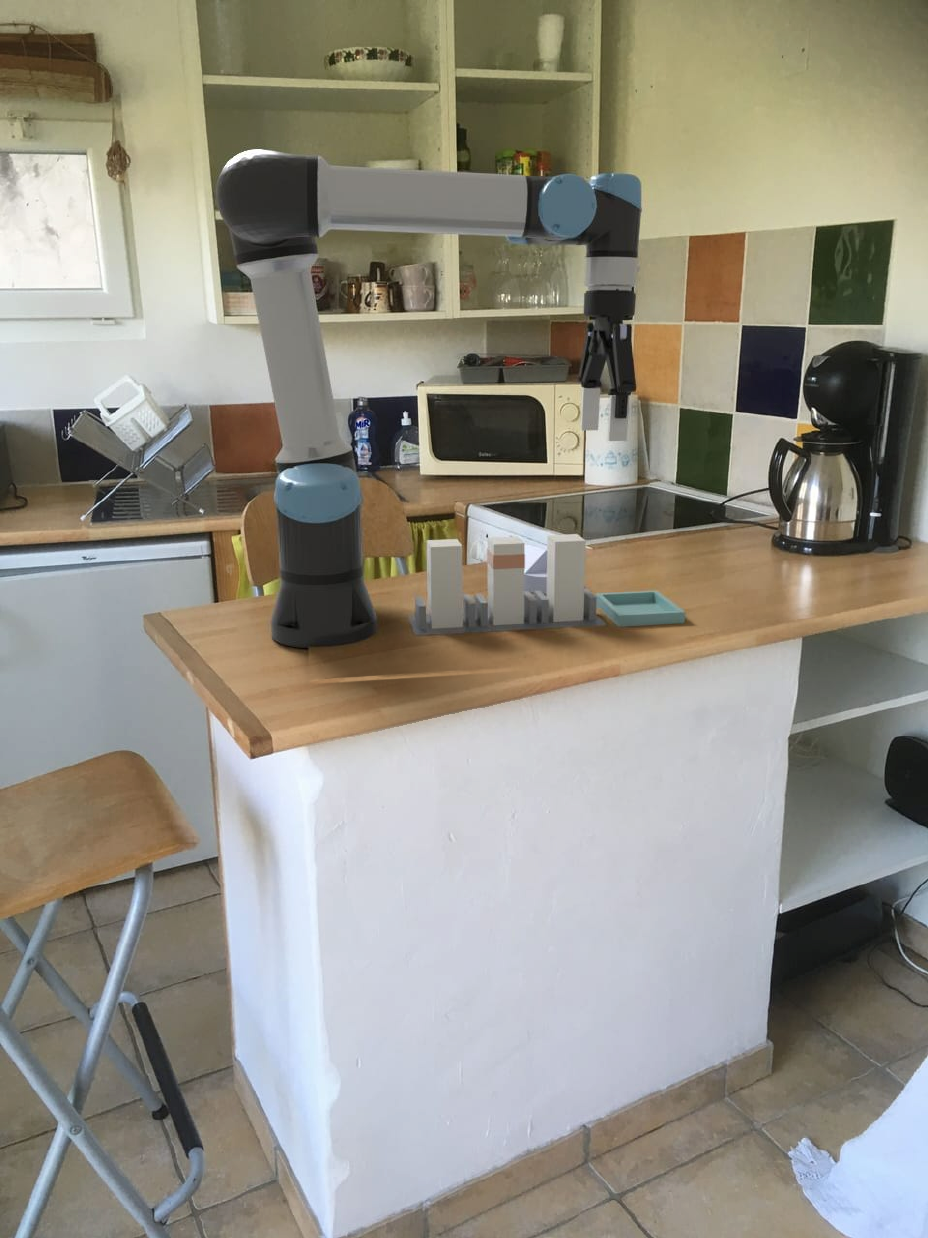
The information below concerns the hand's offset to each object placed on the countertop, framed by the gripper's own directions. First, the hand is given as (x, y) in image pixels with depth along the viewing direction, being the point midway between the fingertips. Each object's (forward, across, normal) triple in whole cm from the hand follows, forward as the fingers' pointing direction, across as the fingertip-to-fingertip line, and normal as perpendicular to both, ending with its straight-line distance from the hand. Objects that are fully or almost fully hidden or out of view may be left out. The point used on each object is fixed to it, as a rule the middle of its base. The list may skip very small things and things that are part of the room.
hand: (602, 435), depth 155 cm
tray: (+26, -10, -4) cm, 28 cm away
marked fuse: (+26, -10, +17) cm, 32 cm away
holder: (+26, -10, +17) cm, 33 cm away
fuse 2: (+26, -10, +8) cm, 29 cm away
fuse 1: (+26, -10, +26) cm, 38 cm away
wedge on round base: (+26, +9, +7) cm, 29 cm away
